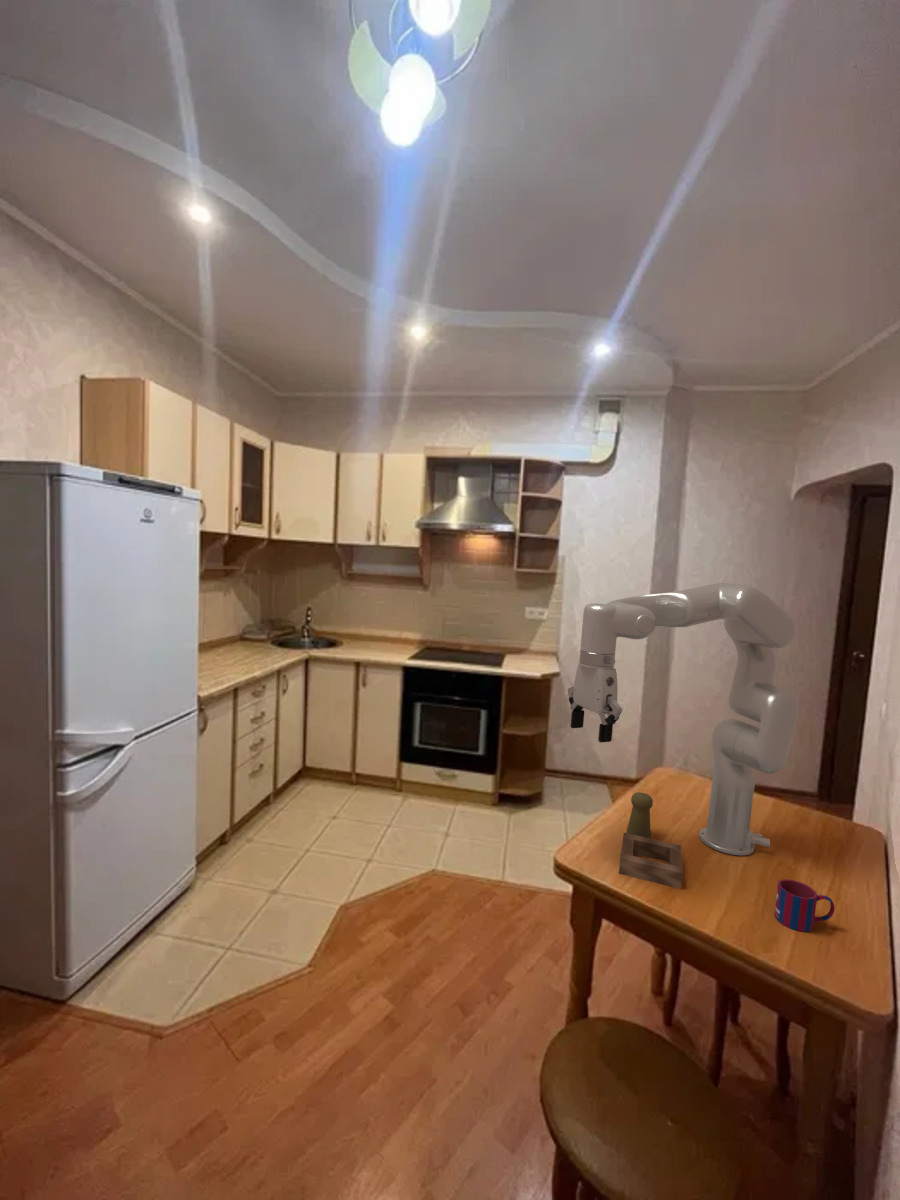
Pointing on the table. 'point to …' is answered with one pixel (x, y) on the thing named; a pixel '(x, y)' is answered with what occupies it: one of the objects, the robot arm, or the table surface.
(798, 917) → the mug
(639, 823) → the olive knobbed peg
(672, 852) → the walnut holder
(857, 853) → the table surface
